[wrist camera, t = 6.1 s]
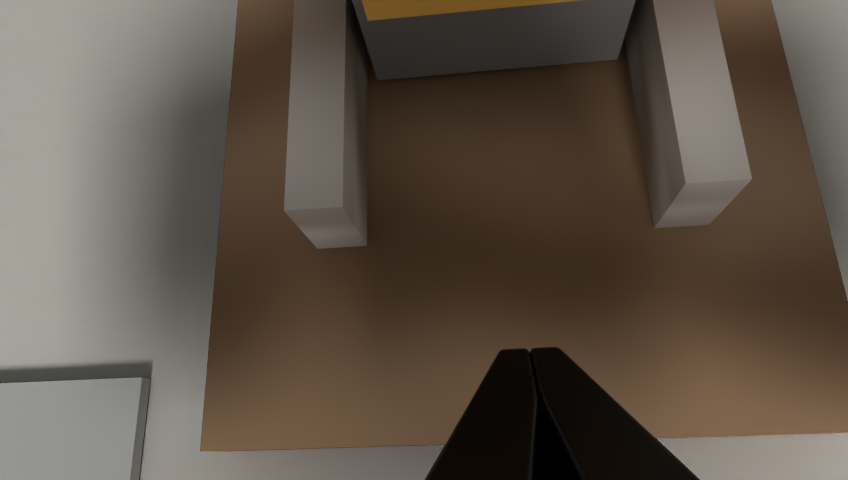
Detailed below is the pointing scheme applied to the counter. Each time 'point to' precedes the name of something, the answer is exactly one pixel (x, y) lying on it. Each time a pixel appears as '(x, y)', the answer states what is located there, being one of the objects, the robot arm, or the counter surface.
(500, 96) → the wooden block stand
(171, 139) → the counter surface
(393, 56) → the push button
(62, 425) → the pattern card
